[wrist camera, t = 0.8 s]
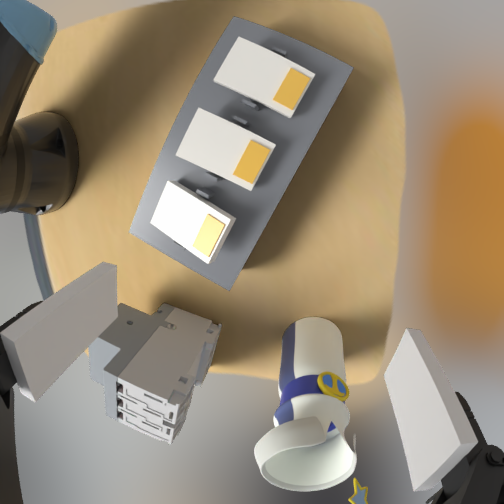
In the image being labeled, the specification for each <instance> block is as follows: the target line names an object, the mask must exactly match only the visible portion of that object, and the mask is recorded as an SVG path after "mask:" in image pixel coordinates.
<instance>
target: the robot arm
mask: <svg viewBox="0 0 504 504" xmlns="http://www.w3.org/2000/svg"><path fill="white" fill-rule="evenodd" d="M56 32H57V23H56V20H55V19H54V18H53V17H52V16H51V15H49V14H48V13H47V12H45V11H44V10H42V9H40V8H39V7H37V6H35V5H34V4H32V3H30V2H28V1H27V0H0V214H2V213H6V212H9V211H11V212H18V213H25V214H31V215H43V214H46V213H50V212H53V211H55V210H57V209H59V208H60V207H61V206H62V205H63V204H64V203H65V202H66V201H67V199H68V198H69V196H70V194H71V192H72V190H73V187H74V184H75V181H76V177H77V172H78V146H77V141H76V137H75V134H74V131H73V129H72V127H71V125H70V124H69V122H68V121H67V120H66V119H65V118H64V117H63V116H61V115H59V114H57V113H51V112H39V113H35V114H32V115H29V116H27V117H24V118H22V119H19V120H17V121H15V120H16V117H17V115H18V112H19V110H20V107H21V105H22V102H23V100H24V98H25V95H26V93H27V91H28V89H29V87H30V84H31V82H32V80H33V78H34V76H35V74H36V72H37V70H38V68H39V66H40V64H41V65H42V63H43V62H44V56H45V54H46V52H47V50H48V48H49V46H50V44H51V42H52V41H53V39H54V37H55V35H56ZM117 317H118V307H117V265H113V264H110V263H106V262H102V263H100V264H99V265H97V266H96V267H94V268H93V269H91V270H89V271H88V272H86V273H85V274H83V275H82V276H80V277H79V278H77V279H76V280H74V281H73V282H71V283H70V284H68V285H67V286H65V287H64V288H62V289H61V290H59V291H58V292H56V293H55V294H53V295H52V296H50V297H49V298H47V299H46V300H45V301H40V302H37V303H34V304H31V305H30V306H28V307H27V308H25V309H24V310H23V311H22V312H20V313H18V314H17V315H16V317H13V318H11V319H10V320H9V321H7V322H6V323H4V324H3V325H2V326H0V504H23V500H22V494H21V488H20V481H19V474H18V466H17V457H16V446H15V429H14V391H13V388H12V386H13V385H14V384H15V383H16V382H17V383H18V386H19V388H20V391H21V393H22V394H23V395H25V396H26V397H28V398H29V399H31V400H32V401H34V402H35V403H36V402H37V401H38V399H39V398H40V397H41V396H42V395H43V394H44V393H45V392H46V391H47V389H48V388H49V387H50V386H51V385H52V384H53V383H54V382H55V381H56V380H57V379H58V378H59V376H61V375H62V374H63V372H64V371H65V370H66V369H67V368H68V367H69V366H70V365H71V364H72V363H73V362H74V361H75V360H76V359H77V358H78V357H79V356H80V355H81V354H82V353H83V352H84V351H85V350H86V349H87V347H88V346H89V345H90V344H91V343H92V342H93V341H94V340H95V339H96V338H97V337H98V336H99V335H100V334H101V333H102V332H103V331H104V330H105V329H106V328H107V327H108V326H109V325H110V324H111V323H112V322H113V321H114V320H115V319H116V318H117ZM384 378H385V382H386V385H387V388H388V391H389V395H390V398H391V402H392V405H393V409H394V412H395V416H396V419H397V423H398V427H399V431H400V435H401V438H402V442H403V446H404V451H405V455H406V459H407V463H408V468H409V472H410V477H411V481H412V486H413V491H422V490H429V489H432V488H433V487H434V486H435V485H436V484H437V483H438V482H439V481H441V482H442V486H443V487H442V488H441V489H440V490H439V491H438V492H437V493H435V494H434V495H433V496H432V497H431V498H430V499H428V500H427V501H426V504H428V503H429V502H430V501H432V500H433V501H432V503H431V504H504V453H503V451H502V450H501V449H499V448H498V447H497V446H494V445H487V443H486V440H485V438H484V436H483V434H482V432H481V430H480V427H479V425H478V423H477V421H476V419H474V415H473V413H472V412H471V409H470V407H469V405H468V403H467V401H466V400H465V399H464V398H463V396H462V395H460V393H459V392H454V390H453V388H452V386H451V384H450V382H449V380H448V378H447V376H446V374H445V372H444V371H443V369H442V367H441V365H440V363H439V362H438V360H437V358H436V356H435V354H434V353H433V351H432V349H431V347H430V346H429V344H428V342H427V340H426V339H425V337H424V335H423V334H422V332H421V330H417V329H410V328H406V330H405V332H404V334H403V337H402V339H401V341H400V344H399V345H398V348H397V349H396V352H395V354H394V356H393V358H392V360H391V362H390V364H389V366H388V368H387V370H386V372H385V374H384Z"/></svg>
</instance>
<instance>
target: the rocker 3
mask: <svg viewBox="0 0 504 504" xmlns="http://www.w3.org/2000/svg"><path fill="white" fill-rule="evenodd" d="M235 220H236V218H235V217H233V216H232V215H230V214H228V213H227V212H225V211H224V210H222V209H220V208H219V207H217V206H216V205H214V204H212V203H211V202H209V201H207V200H206V199H204V198H203V197H201V196H199V195H198V194H196V193H195V192H193V191H191V190H190V189H188V188H186V187H185V186H183V185H182V184H180V183H178V182H177V181H170V180H168V181H167V183H166V186H165V188H164V190H163V193H162V195H161V198H160V200H159V202H158V205H157V207H156V210H155V212H154V215H153V217H152V220H151V222H150V223H151V224H153V225H154V226H155V227H157V228H158V229H159V230H161V231H162V232H164V233H165V234H166V235H168V236H169V237H171V238H172V239H173V240H175V241H176V242H178V243H179V244H180V245H182V246H183V247H185V248H186V249H187V250H189V251H190V252H192V253H193V254H194V255H196V256H197V257H199V258H200V259H202V260H203V261H204V262H206V263H207V264H209V263H212V262H214V261H215V259H216V257H217V255H218V253H219V251H220V249H221V247H222V245H223V243H224V241H225V239H226V237H227V236H228V234H229V232H230V230H231V228H232V226H233V224H234V222H235Z"/></svg>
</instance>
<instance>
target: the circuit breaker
mask: <svg viewBox="0 0 504 504" xmlns="http://www.w3.org/2000/svg"><path fill="white" fill-rule="evenodd" d="M117 307H118V317H117V318H116V319H115V320H114V321H113V322H112V323H111V324H110V325H109V326H108V327H107V328H106V329H105V330H104V331H103V332H102V333H101V334H100V335H99V336H98V337H97V338H96V339H95V340H94V341H93V342H92V343H91V344H90V345H89V346H88V347H89V363H90V377H91V379H92V380H94V381H96V382H97V383H100V384H101V385H103V386H104V394H105V408H106V415H107V416H109V417H111V418H113V419H115V420H117V421H119V422H121V423H123V424H125V425H127V426H129V427H131V428H133V429H135V430H137V431H139V432H142V433H144V434H146V435H148V436H150V437H153V438H155V439H157V440H160V441H162V440H164V441H166V442H169V445H171V444H172V442H173V440H174V439H175V437H176V436H177V435H178V434H179V433H180V430H181V428H182V426H183V424H184V422H185V420H186V415H187V411H188V408H189V406H190V403H191V398H192V395H193V390H194V384H195V386H198V387H201V385H202V383H203V381H204V379H205V377H206V374H207V372H208V369H209V368H210V366H211V362H212V359H213V355H214V352H215V348H216V345H217V341H218V338H219V334H220V331H221V327H222V324H220V323H219V325H215V324H213V323H212V321H211V320H209V319H206V318H203V317H200V316H198V315H195V314H192V313H190V312H187V311H184V310H182V309H179V308H176V307H174V306H171V305H169V304H166V303H163V304H162V305H161V306H160V307H159V308H158V311H157V312H155V313H154V314H153V315H149V314H146V313H144V312H141V311H139V310H137V309H134V308H132V307H130V306H127V305H125V304H123V303H120V304H119V305H118V306H117Z"/></svg>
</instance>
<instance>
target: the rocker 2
mask: <svg viewBox="0 0 504 504" xmlns="http://www.w3.org/2000/svg"><path fill="white" fill-rule="evenodd" d="M275 146H276V144H274V143H272V142H270V141H268V140H266V139H264V138H262V137H260V136H258V135H256V134H254V133H252V132H250V131H248V130H246V129H244V128H242V127H240V126H238V125H236V124H234V123H232V122H229V121H227V120H225V119H223V118H221V117H219V116H216V115H214V114H212V113H210V112H208V111H205V110H203V109H201V108H198V110H197V112H196V114H195V116H194V118H193V119H192V122H191V124H190V126H189V128H188V130H187V132H186V134H185V136H184V138H183V140H182V142H181V144H180V146H179V148H178V151H177V153H176V156H178V157H180V158H182V159H185V160H187V161H189V162H191V163H193V164H195V165H198V166H200V167H202V168H204V169H206V170H208V171H210V172H213V173H215V174H217V175H219V176H221V177H223V178H225V179H227V180H229V181H231V182H233V183H235V184H238V185H240V186H242V187H244V188H246V189H248V190H250V191H251V190H252V188H253V187H254V185H255V183H256V181H257V179H258V177H259V175H260V173H261V172H262V170H263V168H264V166H265V164H266V162H267V160H268V159H269V157H270V155H271V153H272V151H273V149H274V147H275Z"/></svg>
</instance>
